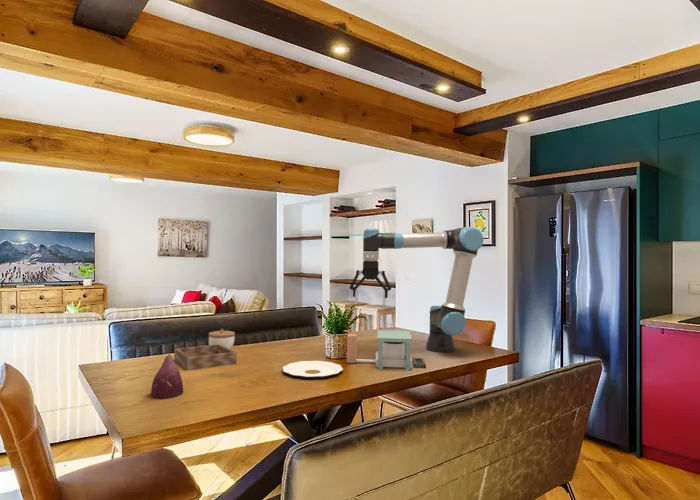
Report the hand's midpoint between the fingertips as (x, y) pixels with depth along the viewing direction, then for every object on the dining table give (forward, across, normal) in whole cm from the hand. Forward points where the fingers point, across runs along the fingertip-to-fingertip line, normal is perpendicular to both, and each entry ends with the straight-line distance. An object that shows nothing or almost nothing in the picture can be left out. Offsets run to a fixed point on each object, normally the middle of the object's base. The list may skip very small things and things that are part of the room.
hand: (370, 304), depth 221 cm
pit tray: (+25, +24, -11) cm, 36 cm away
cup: (+26, +12, -12) cm, 31 cm away
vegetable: (+25, -61, -74) cm, 99 cm away
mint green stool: (+25, +12, -12) cm, 31 cm away
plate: (+26, -20, -34) cm, 47 cm away
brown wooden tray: (+25, -71, -29) cm, 80 cm away
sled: (+25, +6, -13) cm, 28 cm away
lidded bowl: (+25, -73, -7) cm, 78 cm away
